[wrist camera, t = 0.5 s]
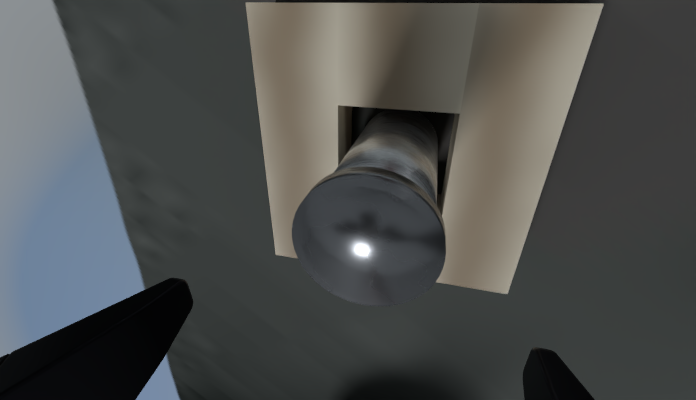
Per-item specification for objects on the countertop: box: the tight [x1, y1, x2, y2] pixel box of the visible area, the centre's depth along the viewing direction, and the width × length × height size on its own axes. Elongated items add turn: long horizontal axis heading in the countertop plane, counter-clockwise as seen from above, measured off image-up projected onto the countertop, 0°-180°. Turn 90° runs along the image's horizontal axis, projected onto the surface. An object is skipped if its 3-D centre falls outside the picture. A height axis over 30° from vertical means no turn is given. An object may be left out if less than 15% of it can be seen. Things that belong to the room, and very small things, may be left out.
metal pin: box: [292, 109, 446, 306], centre depth 15 cm, size 5×5×10 cm
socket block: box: [246, 3, 604, 294], centre depth 18 cm, size 14×14×3 cm
